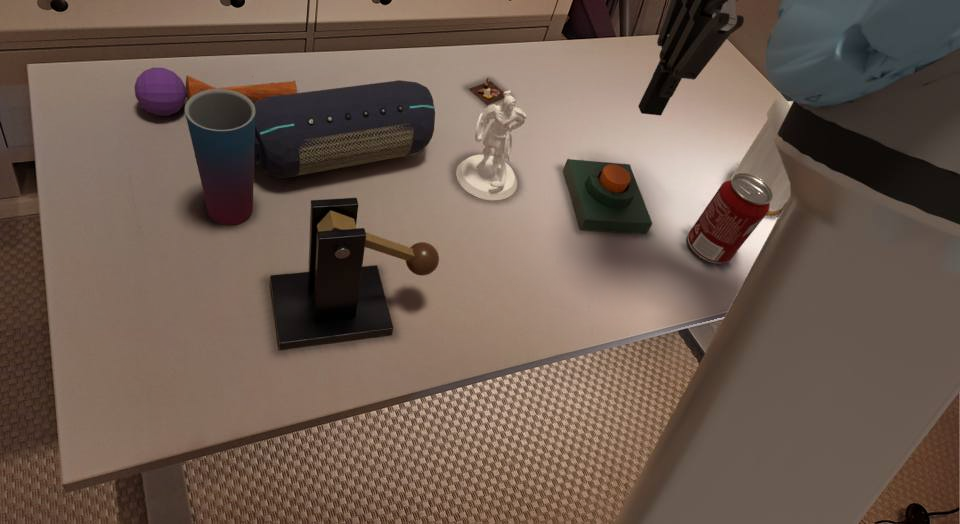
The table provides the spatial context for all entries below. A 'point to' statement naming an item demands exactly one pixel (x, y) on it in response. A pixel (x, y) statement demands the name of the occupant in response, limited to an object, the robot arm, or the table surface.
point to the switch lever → (388, 245)
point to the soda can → (730, 218)
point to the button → (614, 178)
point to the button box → (605, 200)
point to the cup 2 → (769, 156)
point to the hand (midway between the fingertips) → (649, 110)
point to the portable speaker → (341, 127)
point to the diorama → (488, 92)
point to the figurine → (492, 172)
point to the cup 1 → (224, 151)
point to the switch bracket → (331, 287)
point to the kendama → (192, 90)
